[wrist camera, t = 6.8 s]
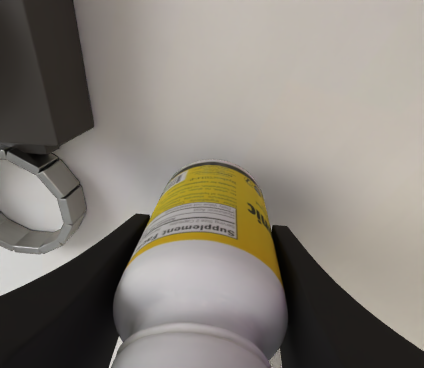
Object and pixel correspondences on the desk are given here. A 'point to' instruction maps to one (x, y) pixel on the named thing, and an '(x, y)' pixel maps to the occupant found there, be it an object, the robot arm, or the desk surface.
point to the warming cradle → (59, 186)
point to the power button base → (41, 74)
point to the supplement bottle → (203, 277)
